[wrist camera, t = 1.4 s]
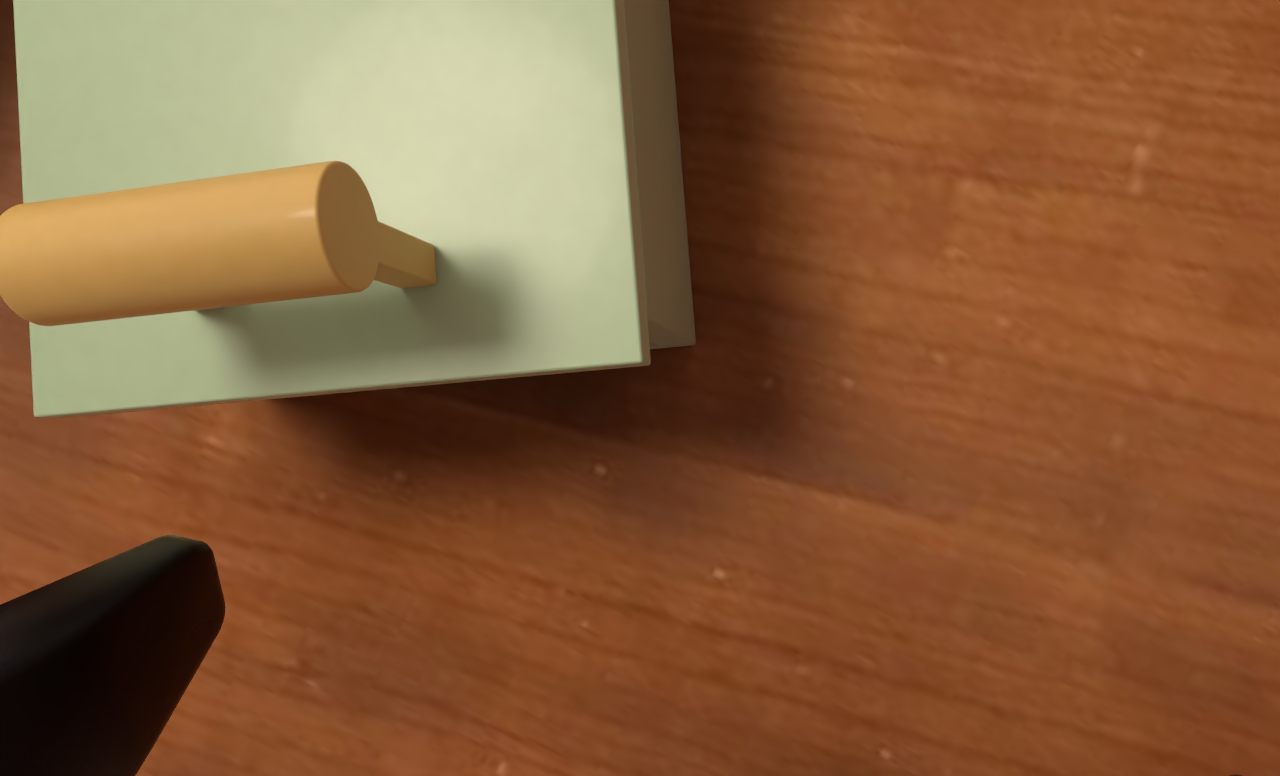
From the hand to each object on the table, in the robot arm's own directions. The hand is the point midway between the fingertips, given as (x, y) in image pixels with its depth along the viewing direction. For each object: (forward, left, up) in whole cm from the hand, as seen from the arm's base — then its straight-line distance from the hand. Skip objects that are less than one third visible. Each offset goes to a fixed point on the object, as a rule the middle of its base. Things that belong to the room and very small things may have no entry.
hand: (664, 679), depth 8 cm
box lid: (-4, +11, -8) cm, 14 cm away
